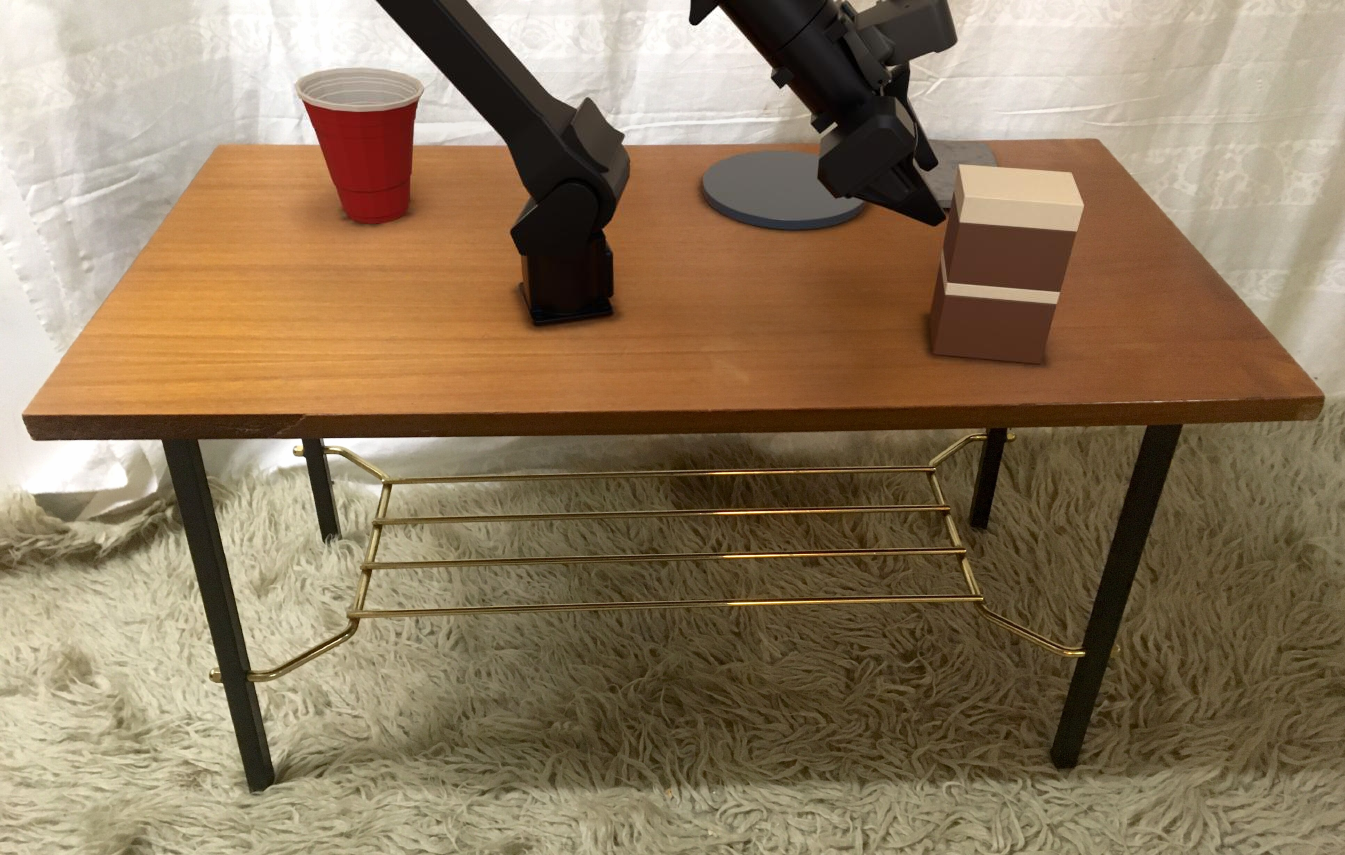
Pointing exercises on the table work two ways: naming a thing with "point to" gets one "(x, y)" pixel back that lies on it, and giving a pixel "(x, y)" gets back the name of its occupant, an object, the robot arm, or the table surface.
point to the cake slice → (1003, 262)
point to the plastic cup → (365, 136)
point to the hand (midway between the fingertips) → (937, 193)
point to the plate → (775, 191)
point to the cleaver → (954, 165)
